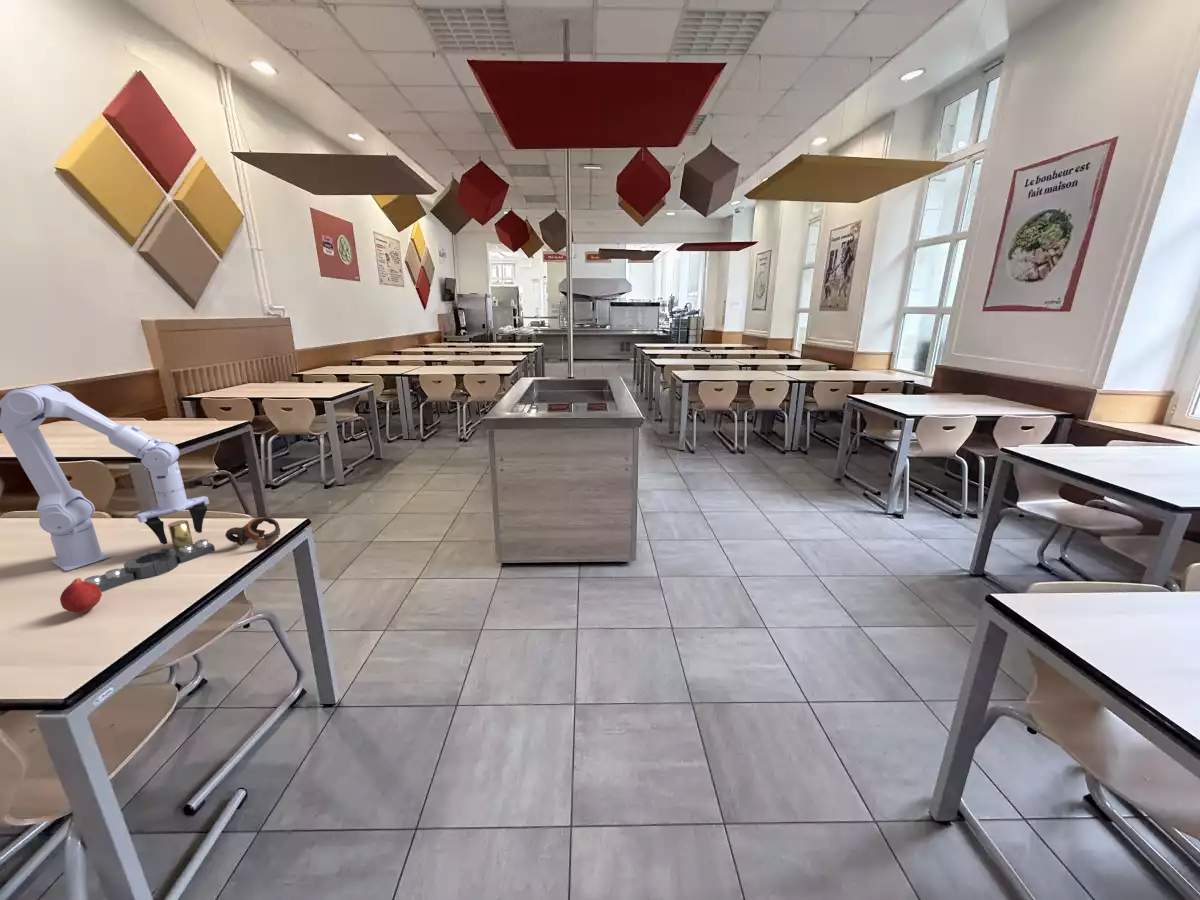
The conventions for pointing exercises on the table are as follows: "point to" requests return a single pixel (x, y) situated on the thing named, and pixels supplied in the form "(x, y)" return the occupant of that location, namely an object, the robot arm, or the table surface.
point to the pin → (180, 534)
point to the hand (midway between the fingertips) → (181, 537)
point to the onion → (80, 596)
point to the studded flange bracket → (150, 564)
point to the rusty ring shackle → (254, 533)
